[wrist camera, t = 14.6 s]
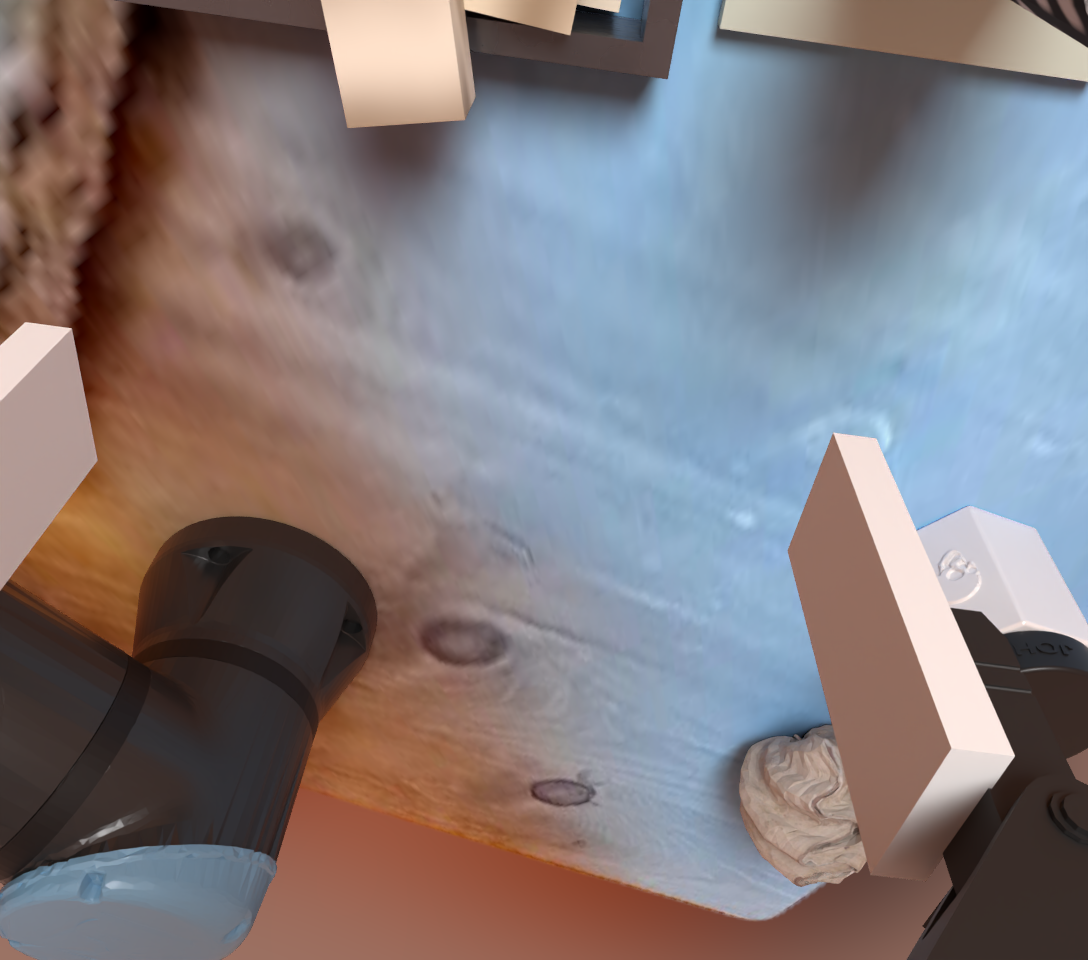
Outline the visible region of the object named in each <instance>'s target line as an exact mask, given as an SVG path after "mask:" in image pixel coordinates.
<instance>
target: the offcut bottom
mask: <svg viewBox="0 0 1088 960" xmlns="http://www.w3.org/2000/svg"><path fill="white" fill-rule="evenodd" d="M620 4H621V0H578V1H577V5H582V6H587V7H592V8H597V9H602V10H607V11H612V12H617V13H619V9H620Z"/></svg>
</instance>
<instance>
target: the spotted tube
mask: <svg viewBox="0 0 1088 960" xmlns="http://www.w3.org/2000/svg"><path fill="white" fill-rule="evenodd" d="M1011 1H1013V2H1014V3H1016V4H1018V5H1019V6H1021V7H1022V8H1024V9H1026V10H1027V11H1029V12H1031V13H1032V14H1034V15H1035V16H1037V17H1039V18H1040V19H1042V20H1044V21H1045V22H1047V23H1048V24H1050V25H1052V26H1053V27H1055V28H1056V29H1058V30H1060V31H1061V32H1063V33H1065V34H1066V35H1068V36H1069V37H1071V38H1073V39H1074V40H1076V41H1077V42H1079V43H1081V44H1082V45H1084V46H1086V47H1087V48H1088V0H1011Z"/></svg>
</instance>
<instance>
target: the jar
mask: <svg viewBox="0 0 1088 960" xmlns="http://www.w3.org/2000/svg"><path fill="white" fill-rule="evenodd" d="M917 533H918V535H919V538H920V540H921V542H922V545H923V547H924V549H925V551H926V554H927V556H928V558H929V561H930V563H931V565H932V567H933V570H934V572H935V574H936V577H937V579H938V581H939V583H940V586H941V588H942V590H943V593H944V595H945V597H946V599H947V602H948V604H949V606H950V608H957V609H965V610H973V611H980V612H982V613H983V614H984V615H985V616H986V617H987V618H988V619H989V620H990V621H991V622H992V623H993V624H994V625H995V626H996V627H997V629H998V630H999V631H1000V632H1001V633H1002V634H1003V635H1004V636H1005V637H1006V638H1007V640H1008V642H1009V644H1010V646H1011V648H1012V650H1013V652H1014V654H1015V656H1016V658H1017V660H1018V662H1019V664H1020V666H1021V667H1020V672H1024V674H1025V676H1026V679H1027V681H1028V683H1029V685H1030V687H1031V689H1032V691H1031V694H1032V695H1034V696H1035V697H1036V699H1037V701H1038V703H1039V705H1040V707H1041V709H1042V711H1043V713H1044V715H1045V717H1046V719H1047V721H1048V724H1049V726H1050V728H1051V730H1052V732H1053V734H1054V736H1055V738H1056V740H1057V742H1058V744H1059V746H1060V748H1061V750H1062V752H1063V754H1064V756H1065V758H1066V759H1067V758H1070V757H1072V756H1074V755H1076V754H1078V753H1080V752H1082V751H1084V750H1085V749H1087V748H1088V623H1087V622H1086V620H1085V618H1084V616H1083V614H1082V612H1081V611H1080V609H1079V607H1078V605H1077V603H1076V601H1075V600H1074V598H1073V596H1072V594H1071V592H1070V590H1069V589H1068V587H1067V585H1066V583H1065V581H1064V579H1063V578H1062V576H1061V574H1060V572H1059V570H1058V568H1057V567H1056V565H1055V563H1054V561H1053V559H1052V557H1051V556H1050V554H1049V552H1048V550H1047V548H1046V546H1045V545H1044V543H1043V541H1042V539H1041V537H1040V535H1039V534H1038V532H1037V530H1036V529H1035V528H1033V527H1030V526H1027V525H1025V524H1022V523H1019V522H1016V521H1013V520H1010V519H1007V518H1004V517H1002V516H999V515H996V514H993V513H990V512H987V511H984V510H982V509H979V508H976V507H973V506H966V507H964V508H962V509H960V510H958V511H956V512H954V513H952V514H950V515H948V516H946V517H944V518H941V519H939V520H937V521H935V522H933V523H931V524H929V525H927V526H925V527H923V528H921V529H919V530H917Z"/></svg>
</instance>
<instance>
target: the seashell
mask: <svg viewBox="0 0 1088 960" xmlns="http://www.w3.org/2000/svg"><path fill="white" fill-rule="evenodd" d="M739 794H740V797H741V803H740V811H741V815H742V818H743V821H744V825H745V827H746V829H747V831H748V833H749V835H750V837H751V839H752V840H753V842H754V844H755V846H756V848H757V850H758V851H759V853H760V854H761V856H762V857H763V858H764V859H765V860H767V861H768V862H769V863H770V864H771V865H772V866H773V867H774V868H775V869H777V870H778V871H779V872H780V873H781V874H783V875H784V876H785V877H786V878H788V879H789V880H790V881H791V882H792V883H793V884H795V885H797V886H800V887H802V886H806V885H809V884H813V883H817V882H829V883H835V884H838V883H840V882H841V881H842V880H843V879H844V878H845V877H847V876H849V875H850V874H852V873H854V872H856V873H858V872H859V871H860V869H862V867H863V865H864V864H865V862H866V861H867V859H866V855H865V851H864V847H863V843H862V839H861V835H860V832H859V828H858V824H857V820H856V816H855V812H854V808H853V804H852V800H851V796H850V792H849V789H848V785H847V781H846V777H845V773H844V769H843V765H842V761H841V757H840V753H839V749H838V745H837V742H836V738H835V734H834V730H833V726H832V725H824V726H821V727H819V728H813V729H811V730H810V731H809V732H808V733H807V734H806V735H805V736H804V738H803V739H801V738H800V737H799V736H798V735H794V736H793V737H787V736H776V737H772V738H768V739H765V740H763V741H760V742H757V743H756V744H754V745H753V746H751V747H750V749H749V750H748V752H747V754H746V757H745V759H744V762H743V765H742V768H741V777H740V784H739Z"/></svg>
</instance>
